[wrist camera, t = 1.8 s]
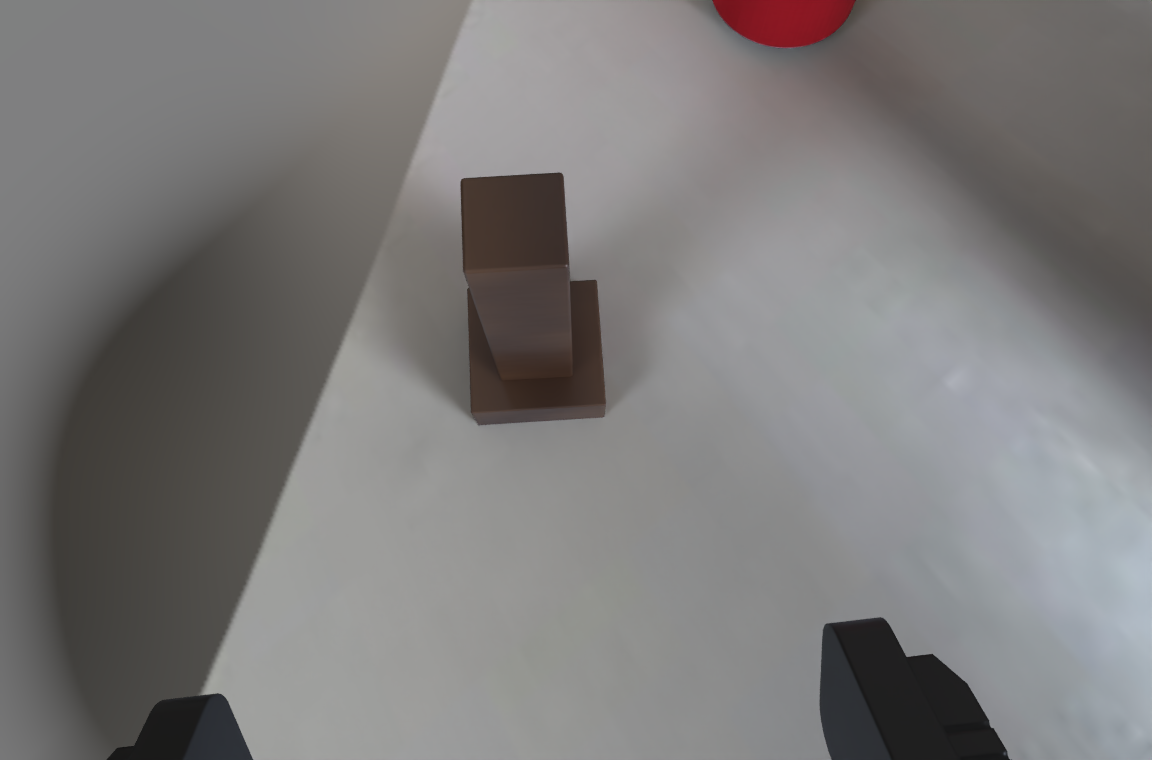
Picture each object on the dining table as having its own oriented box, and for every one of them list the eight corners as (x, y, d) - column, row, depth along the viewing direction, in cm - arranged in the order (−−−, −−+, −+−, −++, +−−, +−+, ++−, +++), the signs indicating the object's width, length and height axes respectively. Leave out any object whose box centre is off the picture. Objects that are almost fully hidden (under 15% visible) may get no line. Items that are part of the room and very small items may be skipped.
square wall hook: (477, 425, 32) (418, 318, 20) (473, 306, 33) (415, 140, 21) (604, 417, 32) (617, 306, 20) (595, 298, 33) (603, 129, 21)
